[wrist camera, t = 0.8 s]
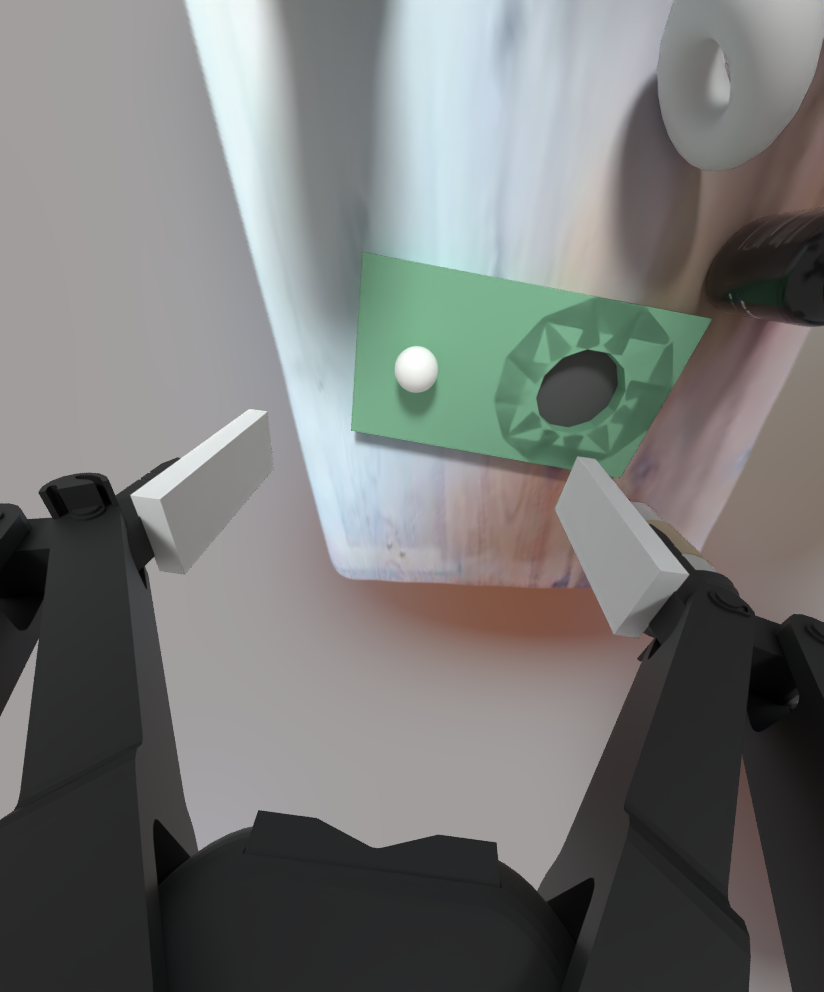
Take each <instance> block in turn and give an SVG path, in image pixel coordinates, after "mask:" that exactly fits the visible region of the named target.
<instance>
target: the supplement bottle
mask: <svg viewBox="0 0 824 992" xmlns="http://www.w3.org/2000/svg"><path fill="white" fill-rule="evenodd" d="M707 292H708V296H709V299H710V301H711V302H712V304H713V305H714V306H715V307H716V308H717V309H719V310H721V311H723V312H727V313H731V314H736V315H741V316H747V317H753V318H758V319H764V320H770V321H775V322H781V323H787V324H793V325H799V326H806V327H819V326H824V207H823V208H815V209H808V210H801V211H794V212H787V213H781V214H775V215H770V216H767V217H763V218H761V219H758V220H756V221H754V222H752V223H750V224H748V225H747V226H745V227H744V228H742V229H741V230H740V231H738V232H737V233H736V234H735V235H734V236H733V237H732V238H731V239H730V240H729V241H728V242H727V243H726V244H725V245H724V246H723V248H722V249H721V250H720V252H719V253H718V255H717V256H716V258H715V260H714V262H713V264H712V266H711V268H710V271H709V275H708V280H707Z"/></svg>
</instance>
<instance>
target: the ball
mask: <svg viewBox="0 0 824 992" xmlns="http://www.w3.org/2000/svg"><path fill="white" fill-rule="evenodd" d="M395 376H396V379H397V381H398V383H399V384H400V386H401V387H402V388H404V389H405V390H407V391H409V392H413V393H420V392H424V391H426V390H428V389H429V388H430V387H431V386H432V385H433V384H434V383H435V381H436V379H437V376H438V363H437V360H436V358H435V356H434V355H433V353H432V352H431V351H429V350H428V349H426V348H424V347H421V346H413V347H409V348H407V349H405V350H404V351H403V352H401V354H400V355H399V356H398V358H397V360H396V363H395Z"/></svg>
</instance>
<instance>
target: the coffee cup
mask: <svg viewBox="0 0 824 992" xmlns="http://www.w3.org/2000/svg"><path fill="white" fill-rule="evenodd" d="M631 503H632V505H633V506H634V507H635V508H636V510H637V511H638V512H639V513H640V514H641V516H642V517H643V518H644V519H645V521H646V522H647V523H648V524H652V525H654V526H655V527H656V528H658V529H659V530H660V531H662V532H663V533H664V534H666V535H667V537H668V538H669V539H670V540H671V541H672V543H673V544H674V545H675V546H674V547H677V548H678V550H679V551H680V552H681V553H682V556H684V557H685V558H686V559H687V560H688V561H689V563H690V564H691V565H692V566H693V567H694V569H695V570H696V571H697V572H698V573H699V574H700V576H701V577H702V578H703V579H704V580H705V581H706V583H707V584H712V585H717V586H719V587H722V588H724V589H726V590H729V591H730V592H732V593H734V594H735V595H737V596H739V593H738V591H737V590H736V588H735V587H734V585H733V583H732V582H731V581H730V580H729V579H728V578H727V577H725V576H724V575H722V574H719V573H718V572H717V571H716V570H715V569H714V568H713V567H712V565H711V563H710V562H709V561H708V560H707V559H706V558H705V557H704V556H703V555H702V554H701V553H700V552H699V551H697V550H696V549H695V548H694V547H693V546H692V545H691V544H690V543H689V542H688V541H687V540H686V539H685V538H684V537H683V536H682V535H681V534H679V533H678V532H677V531H676V530H675V529H674V528H673V527H672V526H671V525H670V524H668V523H666V522H665V521H664V520H663V519H662V518H661V517H660V516H659V515H658V514H657V513H656V512H655V511H653V510H652V509H651V508H650V507H649V506H648V505H646V504H644V503H641V502H634V501H632V502H631ZM643 633H645V634H646V635H648V636H651V637H654V638H655V637H656V636H655V634H654V633H653V631H652V629H651V628H650V626H648V627H647V628H646V630H645V631H644V632H643Z"/></svg>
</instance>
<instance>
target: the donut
mask: <svg viewBox="0 0 824 992" xmlns="http://www.w3.org/2000/svg"><path fill="white" fill-rule="evenodd" d="M823 39H824V0H675V1H674V2H673V5H672V8H671V11H670V14H669V17H668V20H667V23H666V26H665V30H664V33H663V36H662V39H661V44H660V52H659V59H658V66H657V72H658V97H659V103H660V109H661V115H662V119H663V122H664V124H665V127H666V130H667V133H668V136H669V138H670V140H671V141H672V143H673V145H674V146H675V148H676V150H677V151H678V153H679V154H680V155H681V156H682V157H683V158H684V159H685V160H686V161H687V162H688V163H689V164H690V165H693V166H695V167H698V168H700V169H703V170H706V171H709V172H711V171H721V170H728V169H733V168H736V167H738V166H740V165H741V164H743V163H745V162H747V161H748V160H750V159H752V158H753V157H755V156H756V155H758V154H760V153H761V152H763V151H764V150H765V149H766V148H767V147H768V146H770V145H771V144H772V143H773V142H774V140H775V139H776V138H777V137H778V135H779V134H780V133H781V132H782V131H783V129H784V128H785V127H786V126H787V125H788V123H789V122H790V121H791V120H792V118H793V117H794V115H795V114H796V113H797V111H798V109H799V107H800V105H801V103H802V101H803V99H804V97H805V95H806V93H807V90H808V88H809V86H810V84H811V82H812V80H813V77H814V74H815V71H816V68H817V63H818V59H819V55H820V51H821V47H822V43H823ZM724 54H725V57H726V60H727V64H728V67H729V73H730V81H729V78H728V75H727V71H726V68H725V57H724Z"/></svg>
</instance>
